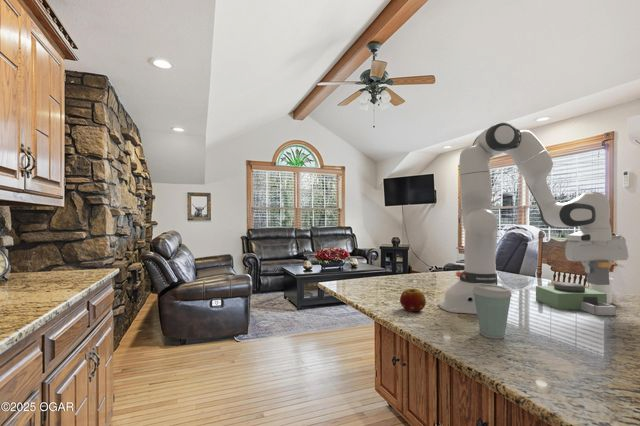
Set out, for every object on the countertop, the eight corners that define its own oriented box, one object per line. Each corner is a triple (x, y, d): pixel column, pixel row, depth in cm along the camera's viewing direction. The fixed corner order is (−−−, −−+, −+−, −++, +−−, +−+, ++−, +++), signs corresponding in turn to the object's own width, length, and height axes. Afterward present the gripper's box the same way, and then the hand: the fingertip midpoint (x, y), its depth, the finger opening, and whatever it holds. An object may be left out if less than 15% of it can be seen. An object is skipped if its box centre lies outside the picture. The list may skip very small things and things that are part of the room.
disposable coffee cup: (505, 330, 102) (504, 282, 102) (519, 343, 91) (518, 290, 91) (469, 328, 104) (468, 281, 104) (478, 340, 93) (477, 288, 93)
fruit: (398, 312, 122) (398, 291, 122) (401, 306, 130) (401, 286, 131) (425, 314, 118) (424, 293, 119) (426, 308, 127) (426, 288, 127)
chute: (587, 282, 123) (586, 258, 123) (599, 282, 123) (598, 258, 123) (600, 286, 117) (599, 261, 117) (614, 285, 116) (612, 260, 117)
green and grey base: (571, 314, 117) (570, 292, 118) (535, 299, 139) (535, 281, 139) (623, 315, 116) (623, 292, 116) (579, 300, 138) (579, 281, 138)
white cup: (603, 299, 139) (603, 276, 139) (619, 304, 131) (618, 279, 131) (584, 299, 139) (583, 276, 140) (598, 304, 132) (597, 279, 132)
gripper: (617, 234, 124) (619, 270, 123) (561, 235, 125) (563, 271, 125) (632, 235, 117) (634, 273, 117) (573, 236, 119) (575, 274, 118)
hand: (597, 272), depth 121 cm, fingers closed on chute, 4 cm apart
